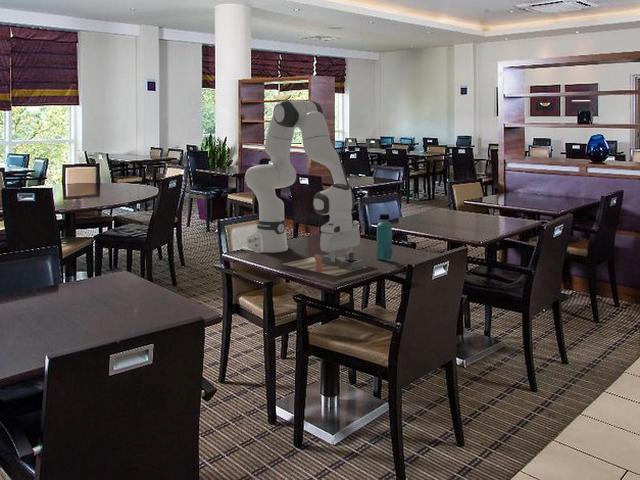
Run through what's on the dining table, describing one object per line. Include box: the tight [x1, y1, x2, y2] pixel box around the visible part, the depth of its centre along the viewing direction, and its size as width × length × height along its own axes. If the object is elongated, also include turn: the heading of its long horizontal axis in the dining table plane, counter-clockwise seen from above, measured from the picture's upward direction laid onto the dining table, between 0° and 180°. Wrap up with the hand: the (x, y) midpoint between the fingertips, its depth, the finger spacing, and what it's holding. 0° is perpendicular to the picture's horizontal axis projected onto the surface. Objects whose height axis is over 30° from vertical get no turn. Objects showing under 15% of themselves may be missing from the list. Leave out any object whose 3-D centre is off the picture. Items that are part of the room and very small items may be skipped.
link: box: [321, 254, 364, 272], centre depth 259 cm, size 18×7×3 cm, turn 47°
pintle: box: [349, 252, 355, 262], centre depth 255 cm, size 2×2×6 cm
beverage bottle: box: [376, 213, 393, 261], centre depth 269 cm, size 6×7×20 cm
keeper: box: [313, 253, 323, 271], centre depth 254 cm, size 7×2×5 cm, turn 7°
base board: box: [283, 256, 368, 277], centre depth 260 cm, size 29×19×1 cm, turn 47°
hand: (340, 259), depth 259 cm, fingers open, 7 cm apart
